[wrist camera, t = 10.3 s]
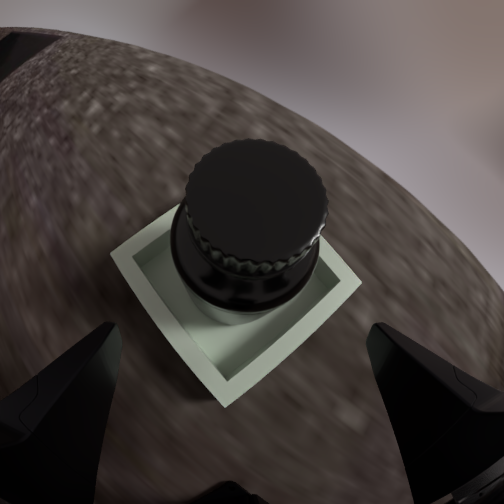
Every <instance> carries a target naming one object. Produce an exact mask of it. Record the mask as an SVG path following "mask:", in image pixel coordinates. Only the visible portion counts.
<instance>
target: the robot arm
mask: <svg viewBox="0 0 504 504" xmlns="http://www.w3.org/2000/svg"><path fill="white" fill-rule="evenodd" d="M366 347H367V350H368V354H369V357H370V361H371V365H372V369H373V373H374V376H375V379H376V382H377V385H378V388H379V391H380V393H381V396H382V399H383V402H384V404H385V407H386V410H387V413H388V416H389V419H390V422H391V425H392V428H393V431H394V434H395V437H396V440H397V443H398V446H399V450H400V453H401V456H402V460H403V463H404V466H405V470H406V474H407V478H408V481H409V485H410V489H411V493H412V497H413V501H414V504H431V503H433V502H435V501H437V500H439V499H441V498H442V497H444V496H446V495H448V494H450V493H451V494H452V496H453V498H452V499H451V500H449V501H448V502H446V503H445V504H504V392H502V391H500V390H498V389H496V388H494V387H492V386H490V385H488V384H486V383H484V382H482V381H480V380H478V379H476V378H474V377H473V376H471V375H469V374H467V373H465V372H464V371H462V370H460V369H459V368H457V367H456V366H454V365H452V364H451V363H449V362H448V361H446V360H444V359H443V358H441V357H439V356H438V355H436V354H435V353H433V352H431V351H430V350H428V349H426V348H425V347H423V346H422V345H420V344H418V343H417V342H415V341H413V340H412V339H410V338H408V337H407V336H405V335H404V334H402V333H400V332H399V331H397V330H395V329H394V328H392V327H390V326H389V325H387V324H386V323H383V322H381V323H374V324H373V325H372V327H371V330H370V332H369V334H368V337H367V339H366ZM121 350H122V339H121V335H120V332H119V328H118V325H117V323H115V322H104V323H103V324H101V325H100V326H99V327H97V328H96V329H95V330H93V331H92V332H91V333H89V334H88V335H87V336H85V337H84V338H83V339H81V340H80V341H79V342H78V343H76V344H75V345H74V346H72V347H71V348H70V349H68V350H67V351H66V352H65V353H63V354H62V355H61V356H59V357H58V358H57V359H56V360H54V361H53V362H52V363H51V364H49V365H48V366H47V367H45V368H44V369H43V370H42V371H40V372H39V373H38V375H35V376H34V377H33V378H32V379H30V380H29V381H28V382H27V383H25V384H24V385H23V386H21V387H20V388H19V389H17V390H16V391H14V392H13V393H12V394H10V395H9V396H7V397H6V398H4V399H3V400H1V401H0V504H93V502H94V493H95V485H96V478H97V471H98V465H99V459H100V453H101V448H102V443H103V438H104V433H105V428H106V424H107V419H108V415H109V411H110V406H111V402H112V398H113V394H114V391H115V386H116V381H117V375H118V369H119V362H120V356H121ZM230 486H234V487H235V488H233V489H230V488H229V487H230ZM191 504H269V503H268V502H266V501H265V500H263V499H262V498H261V497H259V496H258V495H257V494H252V495H251V494H250V493H249V492H247V491H246V490H245V489H244V488H242V487H241V486H240V485H239V484H237V483H236V482H233V481H231V482H227V483H226V484H224V485H223V486H221V487H219V488H218V489H216V490H214V491H213V492H211V493H209V494H207V495H206V496H204V497H202V498H200V499H198V500H196V501H195V502H193V503H191Z"/></svg>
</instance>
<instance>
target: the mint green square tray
mask: <svg viewBox="0 0 504 504" xmlns="http://www.w3.org/2000/svg"><path fill="white" fill-rule="evenodd" d="M179 205H180V204H179ZM179 205H177V206H175V207H174V208H173V209H171V210H170V211H168V212H167V213H165V214H164V215H162V216H161V217H159V218H158V219H156V220H155V221H153V222H152V223H151V224H149V225H148V226H146V227H145V228H144V229H142V230H141V231H139V232H138V233H137V234H135V235H134V236H132V237H131V238H130V239H128V240H127V241H126V242H124V243H123V244H122V245H120V246H119V247H118V248H116V249H115V250H114V251H112V252H111V253H110V255H111V256H112V258H113V260H114V262H115V263H116V265H117V266H118V268H119V270H120V271H121V273H122V275H123V276H124V278H125V279H126V281H127V282H128V284H129V286H130V287H131V289H132V290H133V292H134V293H135V295H136V296H137V298H138V299H139V301H140V302H141V304H142V305H143V307H144V308H145V309H146V311H147V312H148V314H149V315H150V317H151V318H152V319H153V321H154V322H155V324H156V325H157V326H158V328H159V329H160V330H161V332H162V333H163V334H164V336H165V337H166V338H167V340H168V341H169V342H170V344H171V345H172V346H173V348H174V349H175V350H176V351H177V353H178V354H179V355H180V356H181V358H182V359H183V360H184V361H185V363H186V364H187V365H188V366H189V368H190V369H191V370H192V371H193V372H194V374H195V375H196V376H197V377H198V378H199V379H200V381H201V382H202V383H203V384H204V385H205V386H206V387H207V389H208V390H209V391H210V392H211V393H212V394H213V395H214V396H215V398H216V399H217V400H218V401H219V402H220V403H221V404H222V405H223V406H224V407H227V406H228V405H229V404H231V403H232V402H233V401H235V400H236V399H237V398H238V397H240V396H241V395H242V394H243V393H245V392H246V391H247V390H248V389H250V388H251V387H252V386H253V385H255V384H256V383H257V382H258V381H260V380H261V379H262V378H263V377H264V376H265V375H267V374H268V373H269V372H270V371H271V370H273V369H274V368H275V367H276V366H277V365H278V364H279V363H281V362H282V361H283V360H284V359H285V358H286V357H287V356H288V355H290V354H291V353H292V352H293V351H294V350H295V349H296V348H297V347H298V346H299V345H301V344H302V343H303V342H304V341H305V340H306V339H307V338H308V337H309V336H310V335H311V334H312V333H313V332H314V331H315V330H316V329H317V328H319V327H320V326H321V325H322V324H323V323H324V322H325V321H326V320H327V319H328V318H329V317H330V316H331V315H332V314H333V313H334V312H335V311H336V310H337V309H338V308H339V307H340V306H341V304H342V303H343V302H344V301H345V300H346V299H347V298H348V297H349V296H350V295H351V294H352V293H353V292H354V291H355V290H356V289H357V288H358V286H359V285H360V284H361V283H362V282H361V281H360V280H359V278H358V277H357V276H356V275H355V274H354V272H353V271H352V270H351V269H350V268H349V267H348V265H347V264H346V263H345V262H344V261H343V260H342V258H341V257H340V256H339V255H338V254H337V253H336V252H335V250H334V249H333V248H332V247H331V246H330V245H329V244H328V243H327V241H326V240H325V239H324V238H323V237H322V236H321V235H320V250H319V257H318V262H317V265H316V268H315V270H314V273H313V275H312V277H311V278H310V280H309V282H308V283H307V284H306V286H305V287H304V288H303V289H302V290H301V292H300V293H299V294H297V295H296V296H295V297H294V298H293V299H292V300H290V301H289V302H287V303H286V304H284V305H283V306H281V307H279V308H277V309H276V310H274V311H272V312H270V313H269V314H267V315H265V316H263V317H261V318H259V319H258V320H255V321H253V322H250V323H247V324H242V325H228V324H223V323H219V322H217V321H214V320H212V319H210V318H209V317H207V316H206V315H204V314H203V313H202V312H201V311H200V310H199V309H198V308H197V307H196V306H195V304H194V303H193V301H192V300H191V298H190V296H189V294H188V292H187V291H186V289H185V287H184V285H183V283H182V281H181V279H180V277H179V275H178V273H177V271H176V269H175V266H174V263H173V260H172V255H171V251H170V229H171V224H172V220H173V217H174V215H175V212H176V210H177V208H178V206H179Z"/></svg>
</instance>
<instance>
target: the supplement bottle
mask: <svg viewBox="0 0 504 504" xmlns="http://www.w3.org/2000/svg"><path fill="white" fill-rule="evenodd" d="M185 190H186V196H185V198H184V199H183V200H182V202H181V203H180V205H179V206H178V208H177V210H176V212H175V215H174V217H173V220H172V224H171V229H170V251H171V255H172V260H173V263H174V266H175V269H176V271H177V273H178V275H179V277H180V279H181V281H182V283H183V285H184V287H185V289H186V291H187V292H188V294H189V296H190V298H191V300H192V301H193V303H194V304H195V306H196V307H197V308H198V309H199V310H200V311H201V312H202V313H203V314H204V315H206V316H207V317H209V318H210V319H212V320H214V321H217V322H219V323H223V324H228V325H242V324H247V323H250V322H253V321H255V320H258V319H259V318H261V317H263V316H265V315H267V314H269V313H270V312H272V311H274V310H276V309H277V308H279V307H281V306H283V305H284V304H286V303H287V302H289V301H290V300H292V299H293V298H294V297H295V296H296V295H297V294H299V293H300V292H301V290H302V289H303V288H304V287H305V286H306V284H307V283H308V282H309V280H310V278H311V277H312V275H313V273H314V270H315V268H316V265H317V262H318V257H319V250H320V235H321V231H322V230H323V229H324V228H325V226H326V217H327V216H328V214H329V213H328V209H327V205H328V202H329V201H328V199H327V197H326V189H325V187H324V186H323V184H322V179H321V177H320V176H318V175H317V173H316V170H315V168H314V167H312V166H311V165H310V164H309V163H308V161H307V160H306V159H305V158H303V157H301V156H300V155H299V154H298V153H297V152H296V151H293V150H290V149H289V148H288V147H287V146H285V145H279V144H277V143H276V142H274V141H265V140H263V139H257V140H254V139H249V138H248V139H245V140H235V141H233V142H230V143H224V144H222V145H221V146H220V147H216V148H213V149H212V150H211V152H210V153H208V154H206V155H204V156H203V157H202V160H201V161H200V162H198V163H197V164H195V168H194V171H193V172H192V173H191V174H190V175H189V182H188V184H187V185H186V188H185Z"/></svg>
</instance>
